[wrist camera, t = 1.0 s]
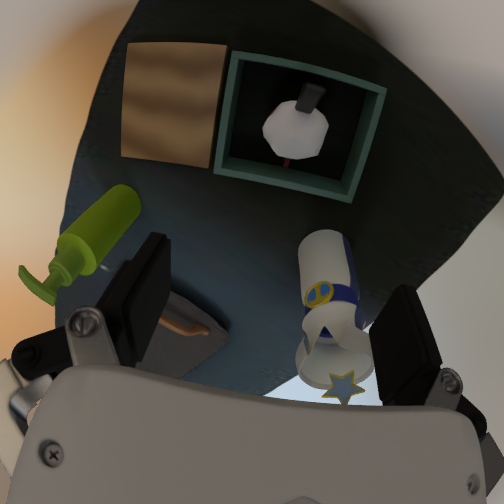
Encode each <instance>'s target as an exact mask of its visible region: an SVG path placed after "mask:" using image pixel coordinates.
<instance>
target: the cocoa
mask: <svg viewBox="0 0 504 504" xmlns="http://www.w3.org/2000/svg"><path fill="white" fill-rule="evenodd" d="M325 92H326V89H325V88H324V87H323V86H320V85H317V84H313V83H310V82H306V83H304V84H303V87H302V89H301V92H300V95H299V97H298V100H297V101H287V102H282V103H281V104H280V105H279V106H277V107H276V108H275V109H273V110H272V111H271V112H270V114H269V116H268V118H267V120H266V122H265V124H264V126H263V134H264V138H265V139H266V140H267V142H268V143H269V144H270V145H271V148H272V149H273V151H274V152H275V153H276V154H277V155H278V156H281V157H285V160H284V165H283V167H285V168H287V167H288V165H289V161H290V158H291V159H303V158H308V157H313V156H317V155H318V153H319V151H320V149H321V146H322V144H323V141H324V138H325V135H326V132H327V129H328V126H329V125H328V123H327V121H326V118H325V116H324V115H323V114H322V113H321V112H319V111H318V110H317V109H316V108H315V107H316V106H317V104H318V103H319V101H320V99H321V98H322V96H323V95H324V93H325Z"/></svg>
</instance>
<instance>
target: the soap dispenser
mask: <svg viewBox="0 0 504 504" xmlns="http://www.w3.org/2000/svg"><path fill="white" fill-rule="evenodd" d="M141 207H142V205H141V200H140V198H139V196H138V194H137V193H136V192H135V191H134V190H133V189H132V188H131V187H129V186H126V185H116V186H114V187H112V188H111V189H110V190H109V191H108V192H107V193H105V194H104V195H103V196H102V197H101V198H100V199H99V200H97V201H96V202H95V203H94V204H93V205H92V206H91V207H90V208H89V209H87V210H86V211H85V212H84V213H83V214H82V215H81V216H80V217H79V218H78V219H77V220H76V221H75V222H74V223H73V224H72V225H71V226H70V227H69V228H67V229H66V230H65V231H64V232H63V233H62V234H61V235H60V237H59V238H58V240H57V249H58V254H57V255H56V256H55V258H54V259H53V260H52V261H51V262H50V264H49V267H48V268H49V272H50V275H49V276H48V277H47V279H46V280H45V281H44V282H43V284H42V283H41V282H40V281H38V280H37V279H36V278H34V277H33V276H32V275H31V274H30V273H29V272H28V271H27V270H26V268H25V267H24V266H23V265H19V277H20V279H21V280H22V282H23V283H24V284H25V285H26V286H27V288H28V289H29V290H31V292H33V293H34V294H35V295H36V296H38V297H39V298H41V299H42V300H43V301H45V302H46V303H48V304H50V305H51V306H54V305H55V303H56V299H57V295H58V294H57V293H55V292H56V291H57V290H58V288H59V287H60V286H61V285H62V286H70V285H71V284H72V282H73V281H74V280H75V278H76V277H77V276H78V275H79V274H81V275H90V274H92V273H93V272H94V271H95V270H96V268H97V267H98V266H99V264H100V263H101V262H102V260H103V259H104V258H105V256H106V255H107V254H108V253H109V251H110V250H111V249H112V247H113V246H114V245H115V244H116V242H117V241H118V240H119V239H120V237H121V236H122V235H123V234H124V232H125V231H126V230H127V229H128V228H129V226H130V225H131V224H132V223H133V222H134V220H135V219H136V218H137V217H138V216H139V214H140V212H141Z"/></svg>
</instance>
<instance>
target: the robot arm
mask: <svg viewBox="0 0 504 504" xmlns="http://www.w3.org/2000/svg"><path fill="white" fill-rule="evenodd" d="M170 291H171V241H170V239H167V236H166V235H165V234H161V233H156V232H151V233H150V235H149V236H148V238H147V239H146V240H145V242H144V243H143V245H142V246H141V248H140V249H139V251H138V252H137V253H136V255H135V256H134V258H133V259H132V261H130V260H127V261H125V262H124V263H123V265H122V266H121V268H120V269H119V271H118V272H117V273H116V275H115V276H114V278H113V279H112V281H111V283H110V284H109V286H108V287H107V289H106V290H105V292H104V293H103V295H102V296H101V298H100V300H99V301H98V303H97V304H96V306H95V307H93V306H80V307H78V308H75V309H74V310H72V311H71V312H70V313H69V314H68V316H67V318H66V320H65V326H62V327H59V328H56V329H53V330H51V331H48V332H45V333H42V334H39V335H36V336H33V337H30V338H27V339H24V340H22V341H20V342H19V343H18V344H17V345H16V346H15V347H14V349H13V351H12V355H11V358H10V359H9V360H7V359H6V358H5V359H3V360H2V361H1V362H0V462H1V463H2V465H3V467H4V469H5V470H6V472H7V473H8V475H9V476H10V478H11V484H10V488H9V493H8V497H7V503H6V504H486V497H487V496H488V495H489V493H490V492H491V490H492V489H493V488H494V486H495V485H496V483H497V482H498V481H499V479H500V478H501V476H502V475H503V473H504V457H503V456H502V453H501V452H500V450H499V448H498V446H497V445H496V443H495V441H494V440H493V438H492V436H491V435H490V433H489V432H488V433H486V430H487V422H486V419H485V417H484V415H483V414H482V413H481V412H480V411H479V410H478V409H477V408H476V407H475V406H474V405H473V404H472V403H471V402H470V401H469V400H467V399H466V398H465V397H464V396H463V395H462V390H463V383H462V380H461V378H460V376H459V375H458V374H457V372H455V371H454V370H453V369H450V368H443V369H441V368H440V365H441V364H442V363H443V362H442V359H441V356H440V353H439V350H438V347H437V344H436V342H435V338H434V336H433V333H432V330H431V327H430V324H429V322H428V319H427V317H426V314H425V311H424V309H423V306H422V304H421V301H420V299H419V297H418V294H417V292H416V289H415V288H414V287H413V286H409V285H404V284H401V285H400V286H399V287H396V288H395V290H394V292H393V293H392V295H391V296H390V298H389V300H388V301H387V303H386V304H385V306H384V308H383V309H382V311H381V312H380V314H379V315H378V317H377V318H376V320H375V321H374V323H373V324H372V326H371V327H370V329H369V339H370V344H371V350H372V355H373V361H374V367H375V373H376V379H377V385H378V392H379V398H380V400H381V401H382V403H383V406H366V405H344V404H329V403H316V402H306V401H296V400H288V399H280V398H272V397H266V396H259V395H253V394H247V393H241V392H236V391H230V390H225V389H220V388H215V387H210V386H206V385H201V384H197V383H192V382H188V381H184V380H179V379H175V378H171V377H167V376H163V375H160V374H156V373H152V372H148V371H143V370H139V369H135V366H136V364H137V362H140V363H141V362H142V360H143V358H144V355H145V353H146V350H147V348H148V345H149V343H150V341H151V338H152V336H153V333H154V331H155V329H156V326H157V324H158V322H159V319H160V317H161V315H162V312H163V310H164V308H165V305H166V303H167V301H168V299H169V296H170ZM127 366H128V367H127ZM41 398H42V399H41ZM40 399H41V401H40V403H39V405H38V407H37V409H36V411H35V413H34V416H33V418H32V421H31V423H30V425H29V427H28V424H27V416H28V413H29V411H30V410H31V409H32V408H33V407H35V406H36V405H37V403H36V402H37V401H38V400H40Z"/></svg>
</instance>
